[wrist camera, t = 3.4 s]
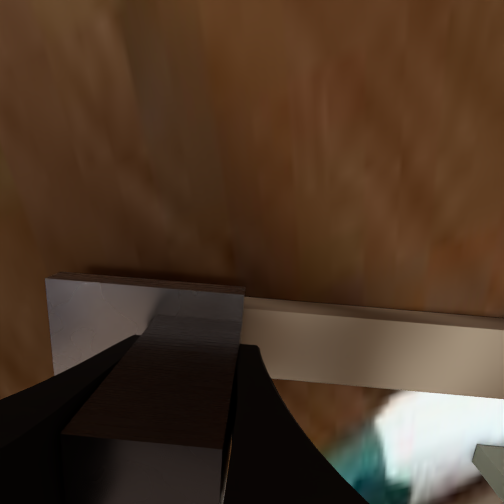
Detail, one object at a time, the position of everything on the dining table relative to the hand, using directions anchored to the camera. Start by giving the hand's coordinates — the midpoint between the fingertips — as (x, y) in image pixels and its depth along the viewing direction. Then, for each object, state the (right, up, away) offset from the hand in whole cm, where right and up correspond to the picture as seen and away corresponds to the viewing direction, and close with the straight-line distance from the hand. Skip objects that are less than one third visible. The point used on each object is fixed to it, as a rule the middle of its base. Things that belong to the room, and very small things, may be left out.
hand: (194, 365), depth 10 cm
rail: (+6, 0, +3) cm, 6 cm away
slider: (-2, -5, +4) cm, 7 cm away
